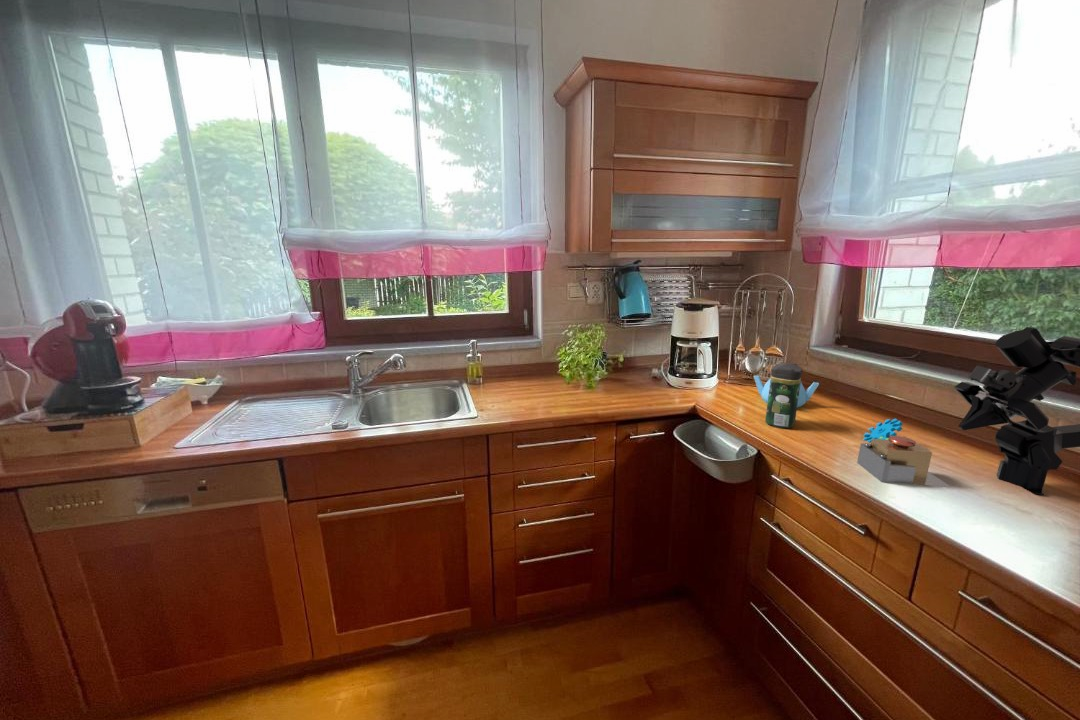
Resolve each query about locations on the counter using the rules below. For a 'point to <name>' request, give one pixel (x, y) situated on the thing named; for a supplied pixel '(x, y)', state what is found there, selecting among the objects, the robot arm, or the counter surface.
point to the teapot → (803, 394)
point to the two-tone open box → (891, 469)
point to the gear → (883, 430)
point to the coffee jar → (783, 395)
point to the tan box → (905, 454)
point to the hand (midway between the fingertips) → (960, 428)
